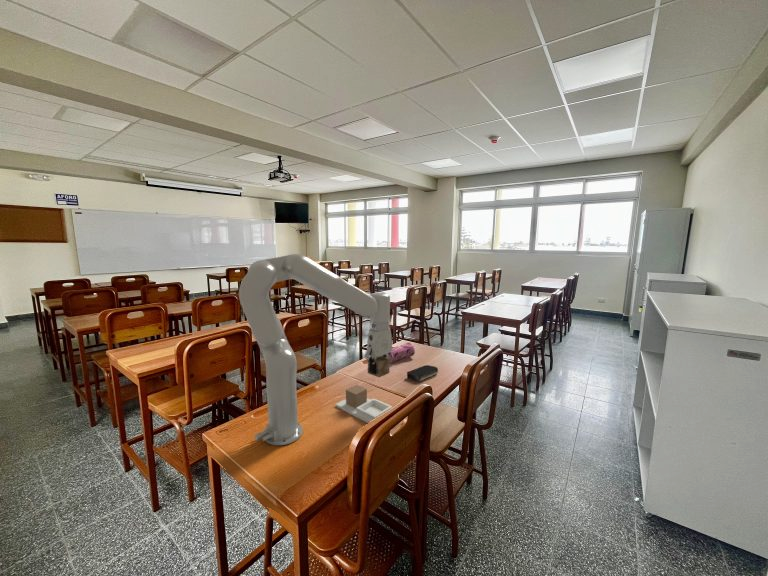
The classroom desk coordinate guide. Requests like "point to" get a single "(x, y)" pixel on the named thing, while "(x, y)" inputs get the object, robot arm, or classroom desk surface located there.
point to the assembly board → (362, 404)
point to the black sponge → (422, 372)
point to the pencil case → (401, 352)
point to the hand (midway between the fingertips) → (378, 370)
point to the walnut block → (381, 366)
